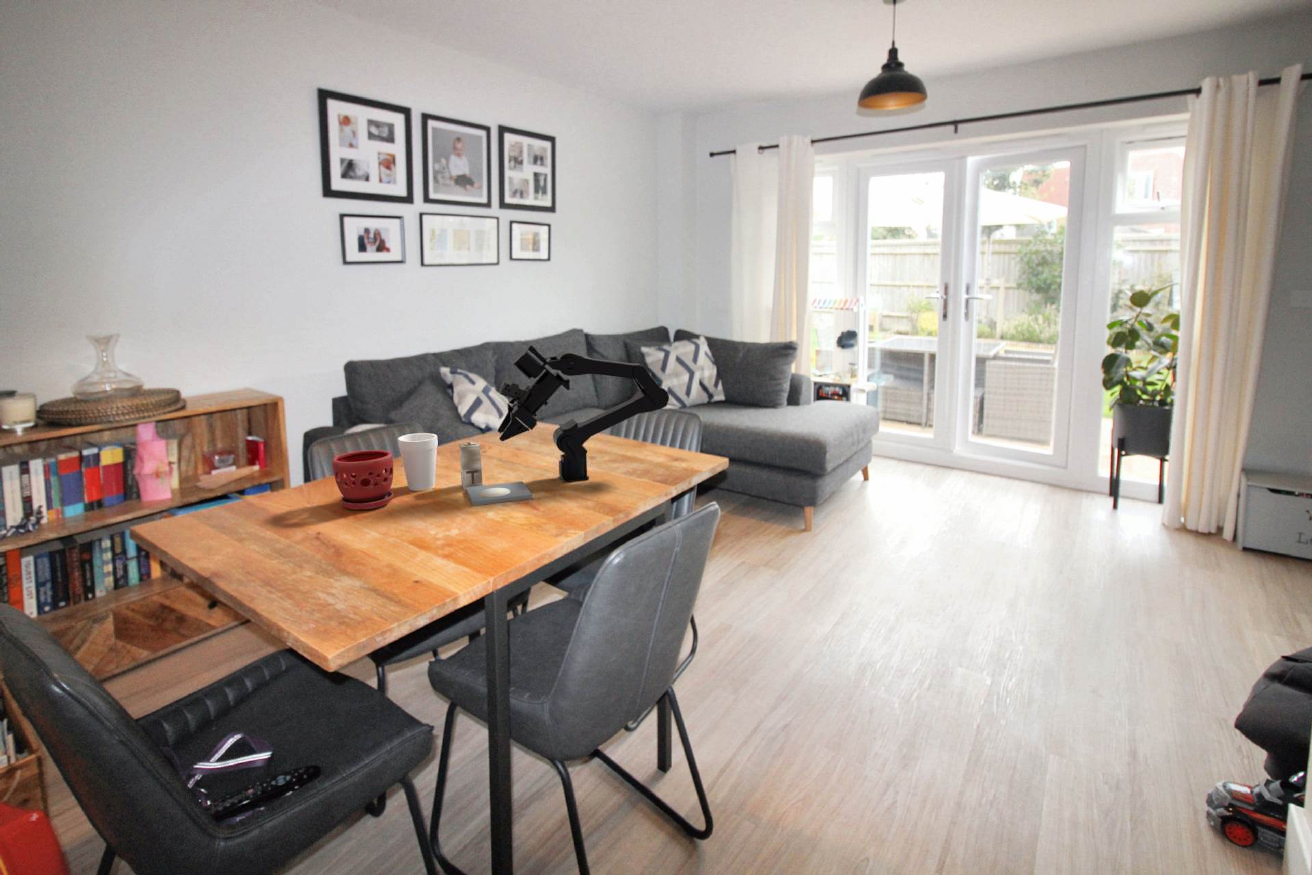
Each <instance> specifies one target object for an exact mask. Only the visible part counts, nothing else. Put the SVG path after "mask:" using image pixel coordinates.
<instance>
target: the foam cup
mask: <svg viewBox="0 0 1312 875" xmlns="http://www.w3.org/2000/svg"><path fill="white" fill-rule="evenodd" d="M397 444H398V450H399V451H400V452H399V453H400V456H401V461H402V465H403V470H404V474H405V475H404V476H405V480H406V483H407V487H408V490H410V491H415V492H421V491H428V490H432V489H433V488H435V486H436V485H435V483H436V471H437V470H436V467H437V454H438V453H437V452H438V451H437V450H438V445H439V443H438V435H437V434H435V433H430V432H429V433H428V432H419V433H418V432H417V433H410V434H403V435H401V436H399V437H398V438H397Z"/></svg>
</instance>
